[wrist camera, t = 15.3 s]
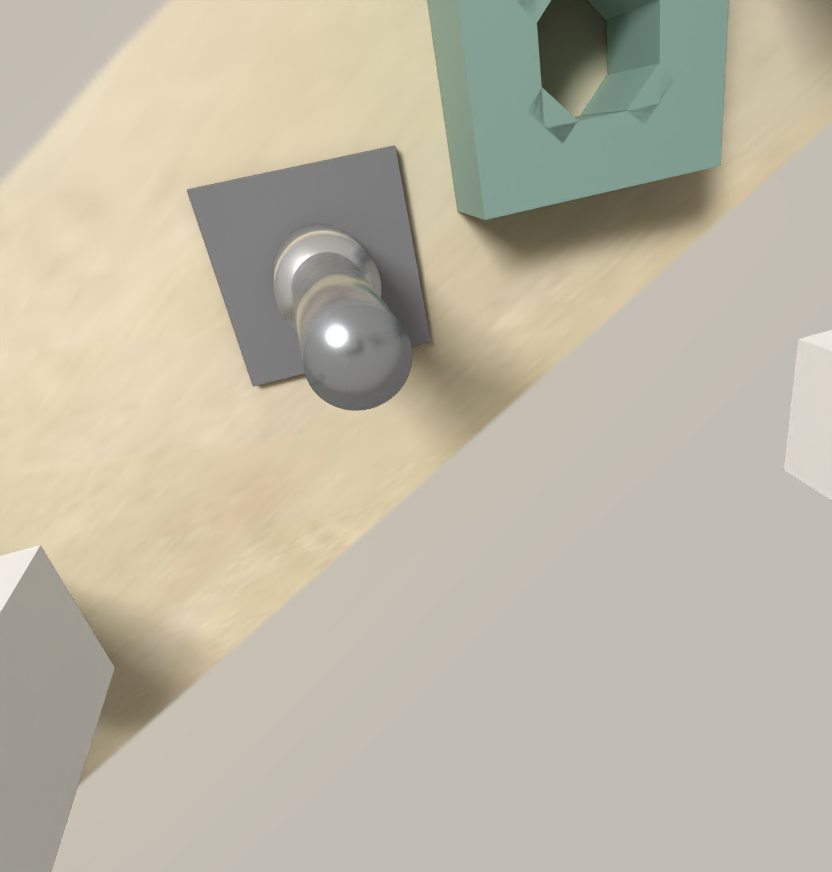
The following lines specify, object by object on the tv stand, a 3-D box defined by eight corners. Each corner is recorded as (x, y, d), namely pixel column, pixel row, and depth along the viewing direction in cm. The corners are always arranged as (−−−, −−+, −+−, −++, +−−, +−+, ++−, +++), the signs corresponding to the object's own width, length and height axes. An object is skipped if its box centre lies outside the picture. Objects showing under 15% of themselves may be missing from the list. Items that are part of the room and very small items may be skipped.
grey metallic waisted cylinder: (355, 213, 33) (420, 261, 19) (376, 306, 35) (446, 409, 21) (261, 235, 32) (255, 301, 18) (288, 327, 34) (302, 449, 20)
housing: (667, -118, 30) (736, -165, 25) (665, 163, 36) (720, 165, 31) (416, -75, 28) (442, -117, 24) (457, 211, 34) (484, 220, 30)
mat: (393, 145, 32) (395, 145, 32) (428, 339, 37) (430, 341, 37) (188, 189, 31) (186, 189, 30) (253, 383, 36) (252, 386, 35)
